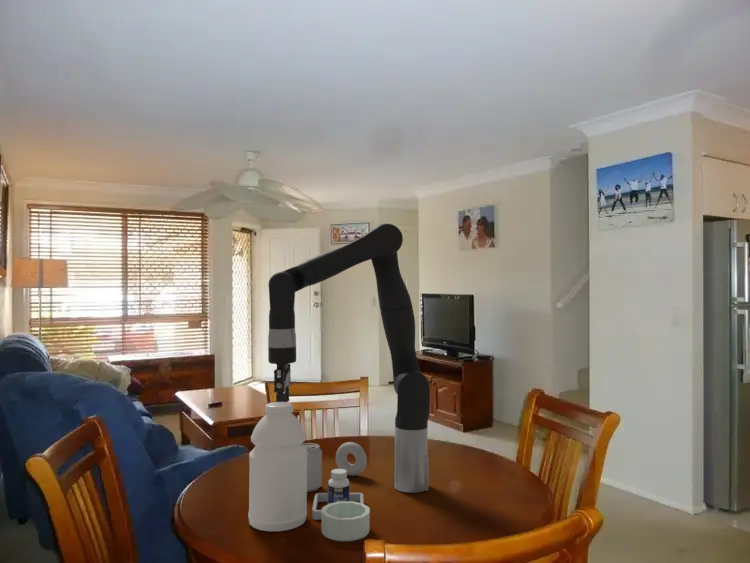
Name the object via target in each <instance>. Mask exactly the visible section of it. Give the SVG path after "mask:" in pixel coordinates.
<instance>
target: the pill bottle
mask: <svg viewBox="0 0 750 563" xmlns="http://www.w3.org/2000/svg"><path fill="white" fill-rule="evenodd" d="M330 477H331V478H330V479H329V480H328V483H327V493H328V502H327V505H328V504H330V503H335V502H340V501H349V493H350V481H349V479H348V478H347V477H348V475H347V471H346V470H344V469H339V468H334V469H332V470H331V471H330Z"/></svg>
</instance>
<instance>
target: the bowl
mask: <svg viewBox="0 0 750 563" xmlns="http://www.w3.org/2000/svg"><path fill="white" fill-rule="evenodd" d="M321 510H322V520H321V526H320V527H321V528H320V530H321V534H322V536H323V537H325V538H327V539H328V540H331V541H337V542H353V541H354V542H355V541H358V540H361V539H364V538H365V537H368V535H369V534H370V528H371V526H370V522H371V521H370V520H371V519H370V518H371V517H370V516H371V512H370V511H371V509H370V507H369V506H368V505H366V504H365V503H364V502H363V503H360V502H353V501H340V502H335V503H330V504H328V503H327V504H326V505H324V506H323V507H322V508H321Z"/></svg>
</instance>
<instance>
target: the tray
mask: <svg viewBox="0 0 750 563" xmlns="http://www.w3.org/2000/svg"><path fill="white" fill-rule="evenodd" d="M349 501H353V502H358V503H363V504H364V493H362V492H349ZM323 502H324V503H328V492H317V493H315V494H314V498H313V503H312V509H311V519H313V520H315V521H317V520H321V521H322V509H318V505H319V503H323Z"/></svg>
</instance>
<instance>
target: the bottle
mask: <svg viewBox="0 0 750 563" xmlns="http://www.w3.org/2000/svg"><path fill="white" fill-rule="evenodd" d="M264 412H265V413H266V414H265V415H264V416H263V417H261V418H260V419H259V421H258V422H257V424H256V425H255V427H254V428H253V431H252V434H251V436H250V441H251V443H252V444H253V445H254V447H253V449H251V451H250V452H249V455H248V458H249V460H248V461H249V474H248V475H249V478H248V479H249V482H248V484H249V485H248V487H249V489H248V493H249V494H248V514H247V515H248V524H249V525H250V526H251V527H252V528H253V529H256V530H259V531H262V532H263V531H264V532H283V531H290V530H293V529H296V528H299V527H300V526H302V525H303V524H305V522H306V520H307V517H308V516H307V514H308V510H307V508H308V506H307V505H308V503H307V500H308V499H307V497H308V492H307V457H308V452H307V450H306V449H305V448H304V447H303V446H302V444H304V443H305V441H306V440H307V435H306V431H305V428H304V427H303V425H302V423H301V421H300V420H299V419H298V418H297V417H296V416H295V415H294V413H293V412H294V405H293V403H292V402H289V401H288V402H276V401H274V402H268V403H266V404H265V407H264Z"/></svg>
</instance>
